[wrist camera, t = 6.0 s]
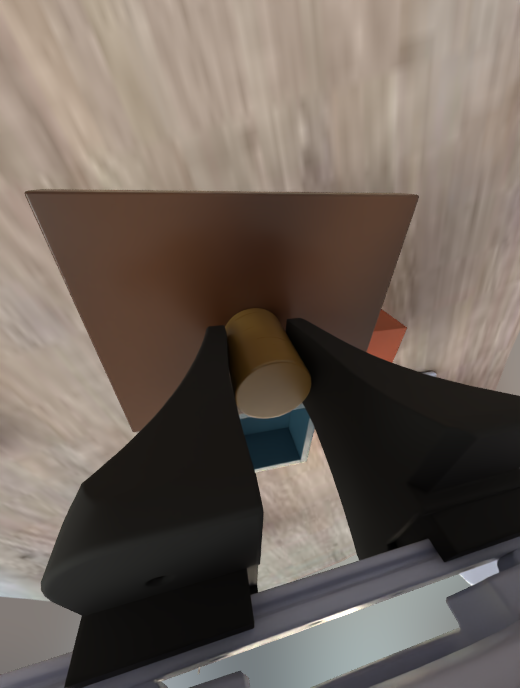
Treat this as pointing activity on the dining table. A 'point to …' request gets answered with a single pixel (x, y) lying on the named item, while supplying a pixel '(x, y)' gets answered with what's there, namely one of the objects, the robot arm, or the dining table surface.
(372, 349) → the block
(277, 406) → the box lid with knob
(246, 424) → the toy box
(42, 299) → the dining table surface
